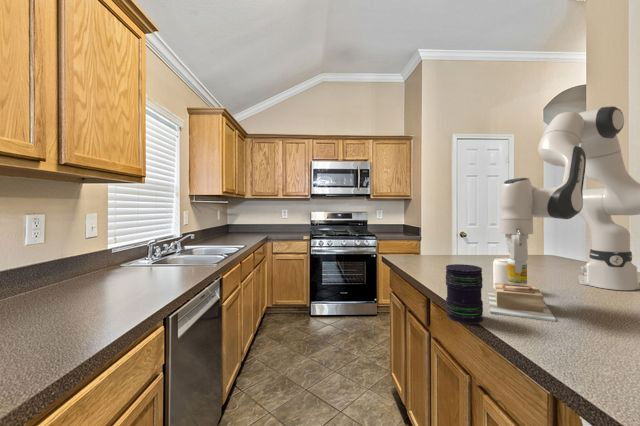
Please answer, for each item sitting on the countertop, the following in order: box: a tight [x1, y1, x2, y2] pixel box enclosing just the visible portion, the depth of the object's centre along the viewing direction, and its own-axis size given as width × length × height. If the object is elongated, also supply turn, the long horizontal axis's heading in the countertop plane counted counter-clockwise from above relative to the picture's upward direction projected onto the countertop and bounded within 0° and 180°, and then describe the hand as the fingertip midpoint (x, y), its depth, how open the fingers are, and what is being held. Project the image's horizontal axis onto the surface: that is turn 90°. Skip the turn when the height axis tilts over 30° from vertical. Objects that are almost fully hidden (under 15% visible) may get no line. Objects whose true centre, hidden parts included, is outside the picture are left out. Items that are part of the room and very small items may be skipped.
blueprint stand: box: [487, 283, 556, 322], centre depth 98 cm, size 22×16×6 cm
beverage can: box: [492, 257, 513, 290], centre depth 116 cm, size 8×8×12 cm
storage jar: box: [445, 263, 484, 325], centre depth 89 cm, size 10×10×15 cm
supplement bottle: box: [507, 253, 528, 286], centre depth 98 cm, size 5×5×10 cm
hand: (517, 270), depth 98 cm, fingers closed on supplement bottle, 5 cm apart
